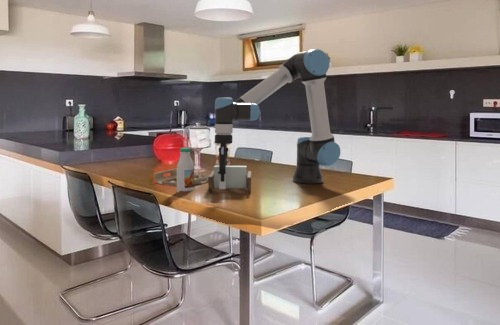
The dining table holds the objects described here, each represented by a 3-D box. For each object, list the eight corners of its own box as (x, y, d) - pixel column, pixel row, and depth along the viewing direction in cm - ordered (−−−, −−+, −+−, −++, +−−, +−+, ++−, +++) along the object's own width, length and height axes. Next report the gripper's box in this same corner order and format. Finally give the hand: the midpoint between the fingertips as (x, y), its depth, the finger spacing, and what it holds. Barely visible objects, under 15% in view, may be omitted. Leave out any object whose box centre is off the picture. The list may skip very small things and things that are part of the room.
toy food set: (153, 184, 197) (153, 168, 196) (177, 178, 213) (177, 164, 211) (194, 189, 185) (194, 173, 184) (216, 183, 200) (216, 168, 199)
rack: (251, 189, 185) (251, 171, 184) (250, 197, 170) (250, 177, 168) (212, 188, 186) (212, 170, 184) (208, 196, 170) (208, 176, 169)
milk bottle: (177, 194, 172) (177, 149, 169) (176, 191, 180) (175, 147, 177) (195, 194, 174) (195, 148, 171) (193, 190, 182) (192, 146, 179)
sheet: (246, 190, 176) (246, 165, 174) (246, 192, 172) (246, 167, 170) (214, 190, 176) (214, 165, 174) (213, 191, 172) (213, 166, 171)
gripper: (216, 133, 179) (216, 183, 182) (212, 135, 160) (212, 191, 163) (233, 133, 179) (232, 183, 182) (231, 135, 160) (230, 191, 163)
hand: (223, 187), depth 172 cm, fingers open, 6 cm apart
